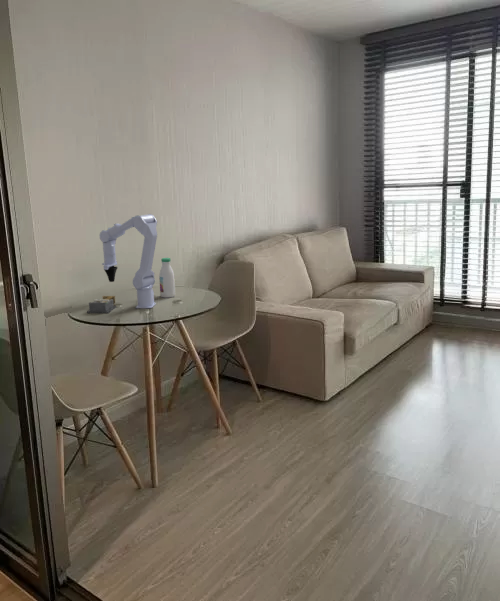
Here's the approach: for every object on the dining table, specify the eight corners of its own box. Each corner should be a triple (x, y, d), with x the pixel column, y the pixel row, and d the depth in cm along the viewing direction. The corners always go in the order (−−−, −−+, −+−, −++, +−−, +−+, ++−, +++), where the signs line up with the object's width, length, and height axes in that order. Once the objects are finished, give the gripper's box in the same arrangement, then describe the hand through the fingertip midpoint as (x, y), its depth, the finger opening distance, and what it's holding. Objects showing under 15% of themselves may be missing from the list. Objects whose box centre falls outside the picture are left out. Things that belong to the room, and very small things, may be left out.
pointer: (95, 306, 257) (94, 299, 256) (110, 306, 256) (109, 299, 255) (93, 307, 255) (93, 300, 254) (108, 307, 254) (108, 300, 253)
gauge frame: (95, 307, 262) (95, 297, 260) (116, 307, 261) (115, 297, 260) (87, 313, 250) (86, 302, 249) (108, 313, 250) (107, 302, 248)
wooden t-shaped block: (103, 303, 266) (103, 295, 266) (115, 303, 266) (114, 295, 265) (96, 308, 257) (96, 300, 256) (109, 308, 257) (108, 300, 256)
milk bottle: (176, 294, 285) (175, 257, 281) (173, 298, 278) (171, 259, 273) (162, 294, 286) (160, 257, 281) (158, 297, 279) (156, 259, 274)
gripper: (106, 252, 274) (108, 278, 277) (96, 256, 260) (98, 284, 263) (120, 252, 273) (122, 278, 276) (110, 256, 259) (113, 284, 262)
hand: (111, 281), depth 269 cm, fingers closed
